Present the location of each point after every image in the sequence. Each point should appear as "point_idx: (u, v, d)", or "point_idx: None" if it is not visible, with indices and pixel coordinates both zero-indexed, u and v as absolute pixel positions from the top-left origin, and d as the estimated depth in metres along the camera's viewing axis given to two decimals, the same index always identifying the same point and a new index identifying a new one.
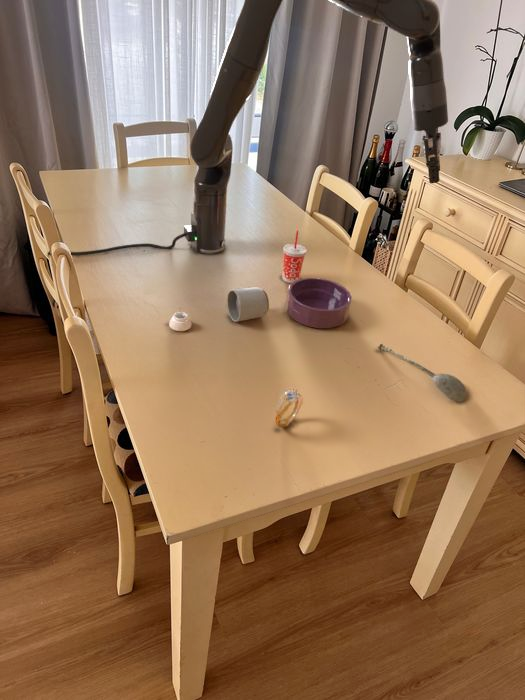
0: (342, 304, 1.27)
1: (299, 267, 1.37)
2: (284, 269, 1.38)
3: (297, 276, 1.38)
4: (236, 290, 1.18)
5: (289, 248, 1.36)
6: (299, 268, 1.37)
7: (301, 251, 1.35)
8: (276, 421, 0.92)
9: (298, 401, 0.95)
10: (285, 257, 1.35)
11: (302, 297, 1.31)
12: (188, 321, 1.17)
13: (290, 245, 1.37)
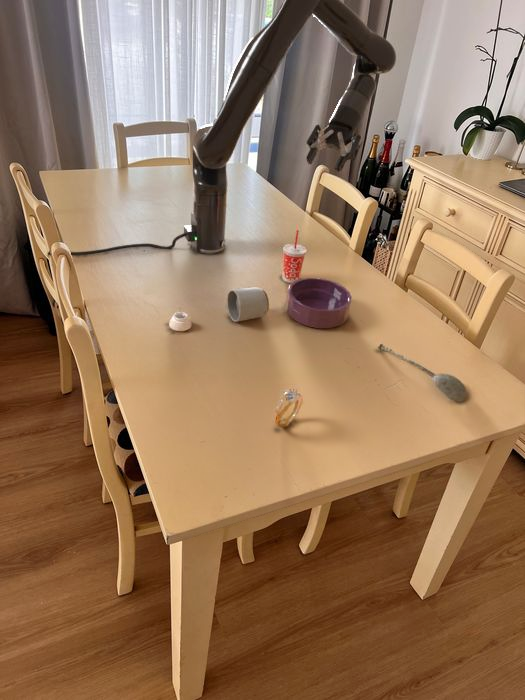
0: (342, 304, 1.27)
1: (299, 267, 1.37)
2: (284, 269, 1.38)
3: (297, 276, 1.38)
4: (236, 290, 1.18)
5: (289, 248, 1.36)
6: (299, 268, 1.37)
7: (301, 251, 1.35)
8: (276, 421, 0.92)
9: (298, 401, 0.95)
10: (285, 257, 1.35)
11: (302, 297, 1.31)
12: (188, 321, 1.17)
13: (290, 245, 1.37)
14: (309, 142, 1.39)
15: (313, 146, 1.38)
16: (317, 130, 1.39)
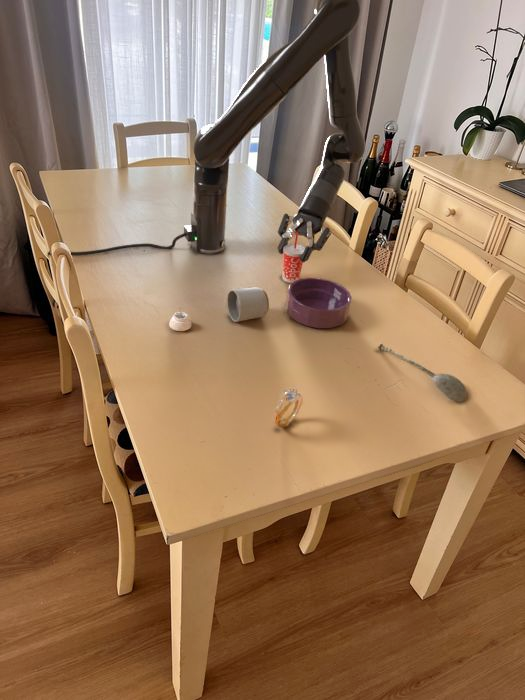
0: (342, 304, 1.27)
1: (299, 267, 1.37)
2: (284, 269, 1.38)
3: (297, 276, 1.38)
4: (236, 290, 1.18)
5: (289, 248, 1.36)
6: (299, 268, 1.37)
7: (301, 251, 1.35)
8: (276, 421, 0.92)
9: (298, 401, 0.95)
10: (285, 257, 1.35)
11: (302, 297, 1.31)
12: (188, 321, 1.17)
13: (290, 245, 1.37)
14: (280, 232, 1.36)
15: (284, 236, 1.36)
16: (286, 219, 1.37)
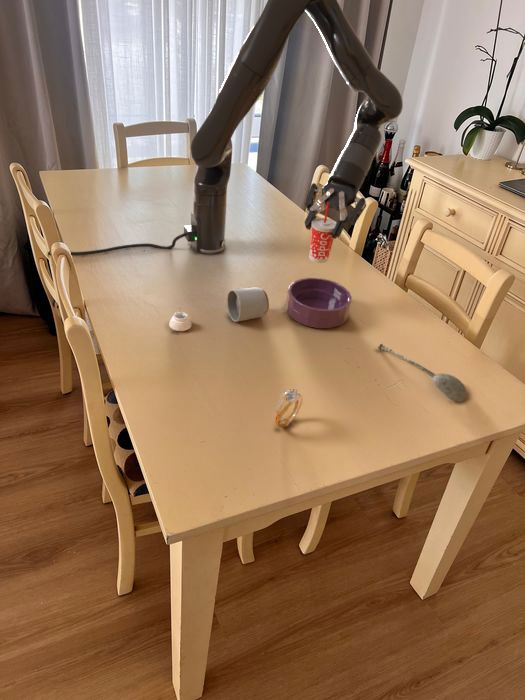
0: (342, 304, 1.27)
1: (329, 244, 1.19)
2: (312, 247, 1.21)
3: (327, 255, 1.21)
4: (236, 290, 1.18)
5: (318, 222, 1.18)
6: (329, 245, 1.20)
7: (332, 226, 1.18)
8: (276, 421, 0.92)
9: (298, 401, 0.95)
10: (313, 233, 1.18)
11: (302, 297, 1.31)
12: (188, 321, 1.17)
13: (319, 219, 1.20)
14: (308, 204, 1.19)
15: (312, 209, 1.19)
16: (314, 189, 1.20)
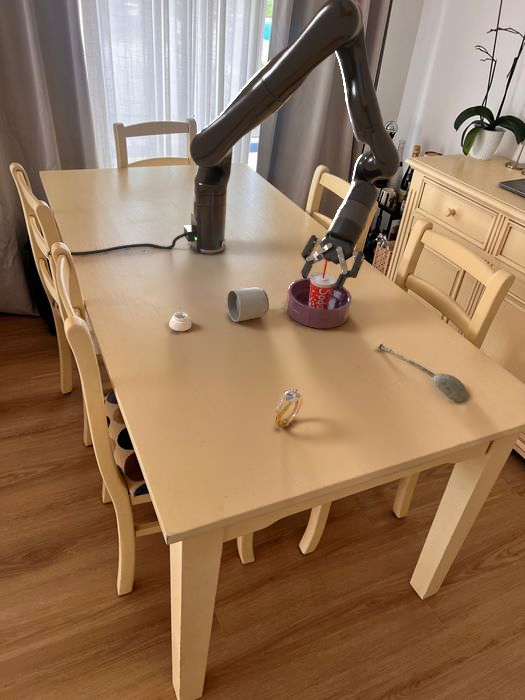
0: (342, 304, 1.27)
1: (327, 298, 1.24)
2: (311, 300, 1.25)
3: (325, 308, 1.26)
4: (236, 290, 1.18)
5: (317, 278, 1.23)
6: (327, 299, 1.24)
7: (330, 281, 1.22)
8: (276, 421, 0.92)
9: (298, 401, 0.95)
10: (312, 287, 1.23)
11: (302, 297, 1.31)
12: (188, 321, 1.17)
13: (317, 274, 1.24)
14: (304, 254, 1.24)
15: (309, 259, 1.23)
16: (313, 241, 1.24)
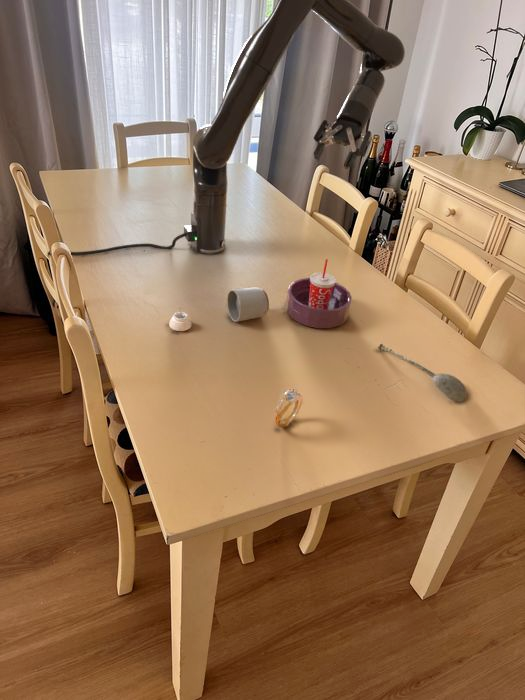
0: (342, 304, 1.27)
1: (327, 298, 1.24)
2: (311, 300, 1.25)
3: (325, 308, 1.26)
4: (236, 290, 1.18)
5: (317, 278, 1.23)
6: (327, 299, 1.24)
7: (330, 281, 1.22)
8: (276, 421, 0.92)
9: (298, 401, 0.95)
10: (312, 287, 1.23)
11: (302, 297, 1.31)
12: (188, 321, 1.17)
13: (317, 274, 1.24)
14: (316, 138, 1.34)
15: (321, 142, 1.34)
16: (324, 125, 1.34)
